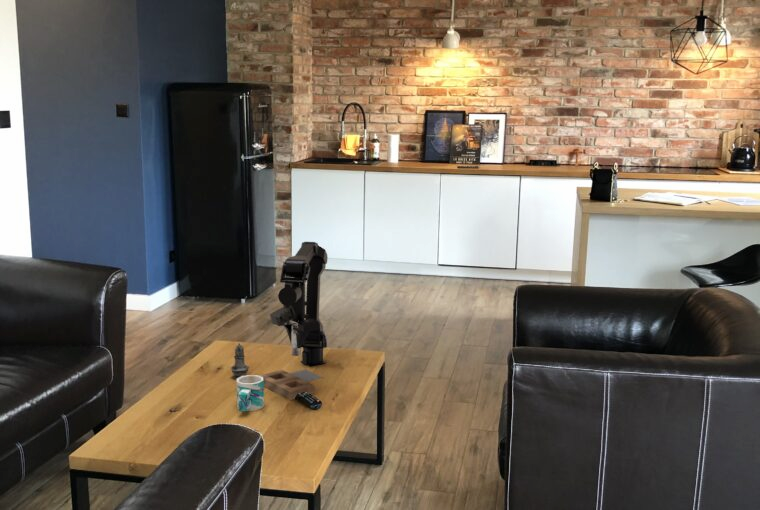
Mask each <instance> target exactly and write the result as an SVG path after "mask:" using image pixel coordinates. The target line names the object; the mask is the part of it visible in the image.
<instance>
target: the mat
mask: <svg viewBox="0 0 760 510" xmlns="http://www.w3.org/2000/svg"><path fill="white" fill-rule="evenodd" d="M290 374H292V375H294V376H296V377H298V378H300V379H302V380H304V381H306V382H308V383H309V382H311V381H315V380H319V379H322V378H323V377H322V376H321V375H318V374H317V373H314V372H312V371H310V370H308V369H306V368H305V369H301V370H298V371H294V372H293V371H292V372H290Z"/></svg>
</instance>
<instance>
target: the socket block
mask: <svg viewBox="0 0 760 510" xmlns="http://www.w3.org/2000/svg"><path fill="white" fill-rule="evenodd" d="M290 373H291V372H290ZM290 373H289V372H287V371H285V370H284V369H280V370H276V371H272V372H268V373H264V374H260V375H258V376H261V377H263V380H264V389H265V388H266V389H267V390H270V391H271V392H273V393H275V394H276V395H278V396H281V397H283V398H284V399H286V400H288V401H292V400H296V399H295V397H296V395H297V394H298V393H301V392H308V393H310V394H311V395H314V394H315V385H314V384H313V383H310V382H309V381H308V382H306V381H304V380H302V379H300V378H298V377H296V376H294V375H292V374H290Z"/></svg>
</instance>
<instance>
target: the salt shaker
mask: <svg viewBox="0 0 760 510" xmlns="http://www.w3.org/2000/svg"><path fill="white" fill-rule="evenodd" d="M233 358H234V365H232V366H231V367H230V370H231V372H232V374H233V375H234V376H233V377H232V378H233V380H236V381H237V378H239V377H241V376H246V374H247V373H248V372H249V369H250V366H249V365H247V364H246V363H245V358H246V355H245V348H244V346H243V345H241V343H240V342H238V344H237V345H236V346H235V348H234V357H233Z"/></svg>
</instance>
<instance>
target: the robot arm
mask: <svg viewBox="0 0 760 510" xmlns="http://www.w3.org/2000/svg"><path fill="white" fill-rule="evenodd" d="M328 260H329V259H328V253H327V251H326V249H325V248H324V247H322V246H320V245H319V243H318V242H315V241H303V242H302V243H301V245H300V248H299V249H298V250H297V252H296V253H295V255H293V256H288V257H287V258H286V259H285V260H284V262H283V264H282V268H281V274H280V280H279V282H280V283H284V287H282V288H281V289H280V291H279V292H278V294H277V297H278V301H279V303H280V304H282V305H283V306H282V307H281V308H278V309H276V310H275V311H273V312H271V313H270V314H269V317H270V319H271V323H272V324H273V325H276V326H277V327H283V328H284V329H285V330H286V333H287V336H288V339H289V341H290V343H291V325H293V324H298V326H297V328H293V330H294V331H295V332H296V340H297V348H301V349H302V350H301V361H300V363H301V364H303V365H305V366H307V367H309V368H313V367H317V366H320V365H325V364H326V361H324V349H326V348H327V347H328V341H327V339H328V338H327V336H326V333H325V331H324V325H323V323H322V321H321V319H320V316H319V315H320V301H321V299H320V297H321V295H320V294H321V276H322V274H323V273H324V271H325V270H326V267H327V266H326V265H327V264H328Z"/></svg>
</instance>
